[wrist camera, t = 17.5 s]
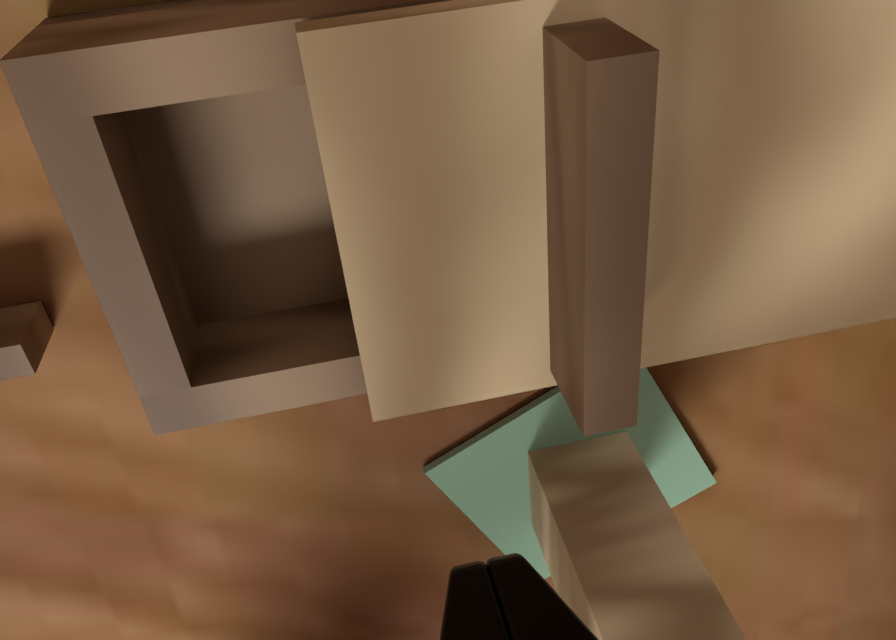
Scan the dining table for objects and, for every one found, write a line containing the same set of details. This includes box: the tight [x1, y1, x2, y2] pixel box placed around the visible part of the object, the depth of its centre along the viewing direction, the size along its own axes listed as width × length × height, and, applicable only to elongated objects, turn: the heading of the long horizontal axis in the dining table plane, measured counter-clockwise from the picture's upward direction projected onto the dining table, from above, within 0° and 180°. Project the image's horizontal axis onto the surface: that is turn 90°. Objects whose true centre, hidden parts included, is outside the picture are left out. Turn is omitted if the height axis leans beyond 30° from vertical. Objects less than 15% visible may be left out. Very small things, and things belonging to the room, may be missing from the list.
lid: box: [295, 0, 896, 437], centre depth 16 cm, size 15×9×3 cm, turn 95°
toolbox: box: [0, 0, 451, 435], centre depth 18 cm, size 20×9×4 cm, turn 95°
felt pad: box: [423, 368, 717, 579], centre depth 27 cm, size 8×8×1 cm
